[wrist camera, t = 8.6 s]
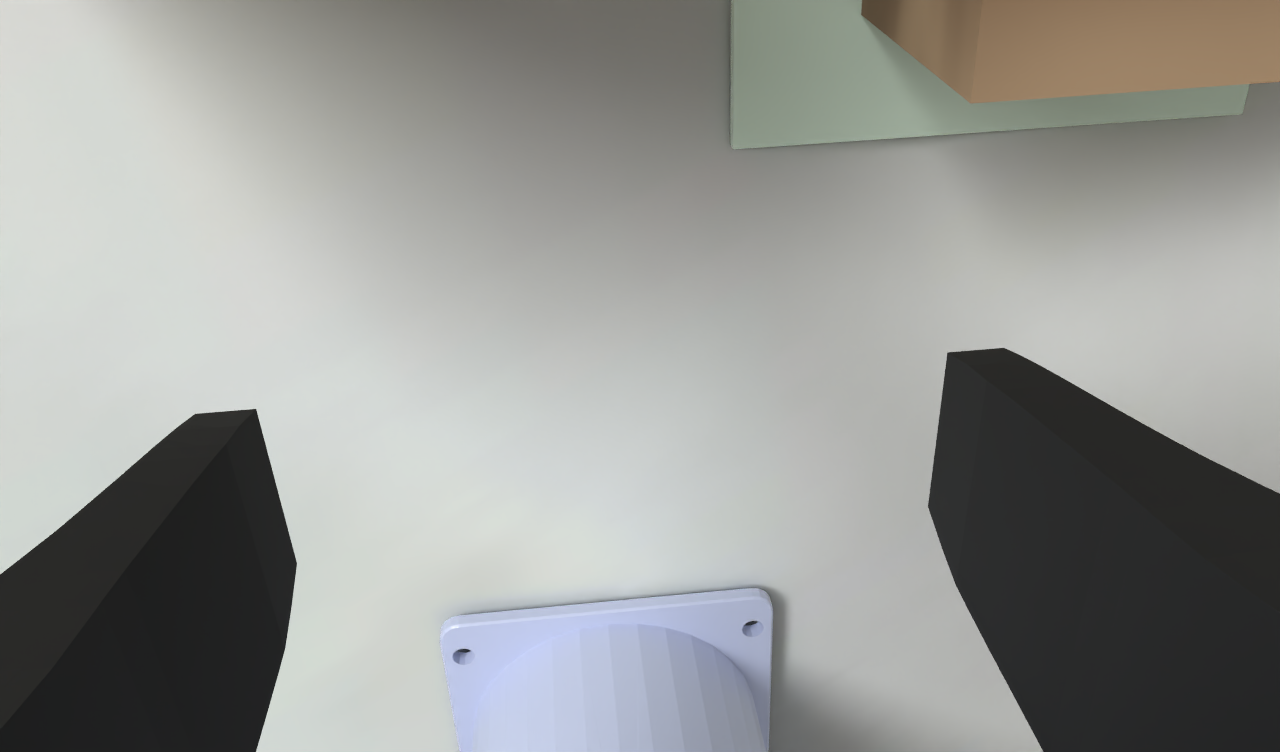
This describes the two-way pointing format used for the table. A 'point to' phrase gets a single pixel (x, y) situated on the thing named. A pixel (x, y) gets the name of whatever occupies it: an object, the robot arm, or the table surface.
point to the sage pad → (893, 85)
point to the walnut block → (1084, 44)
